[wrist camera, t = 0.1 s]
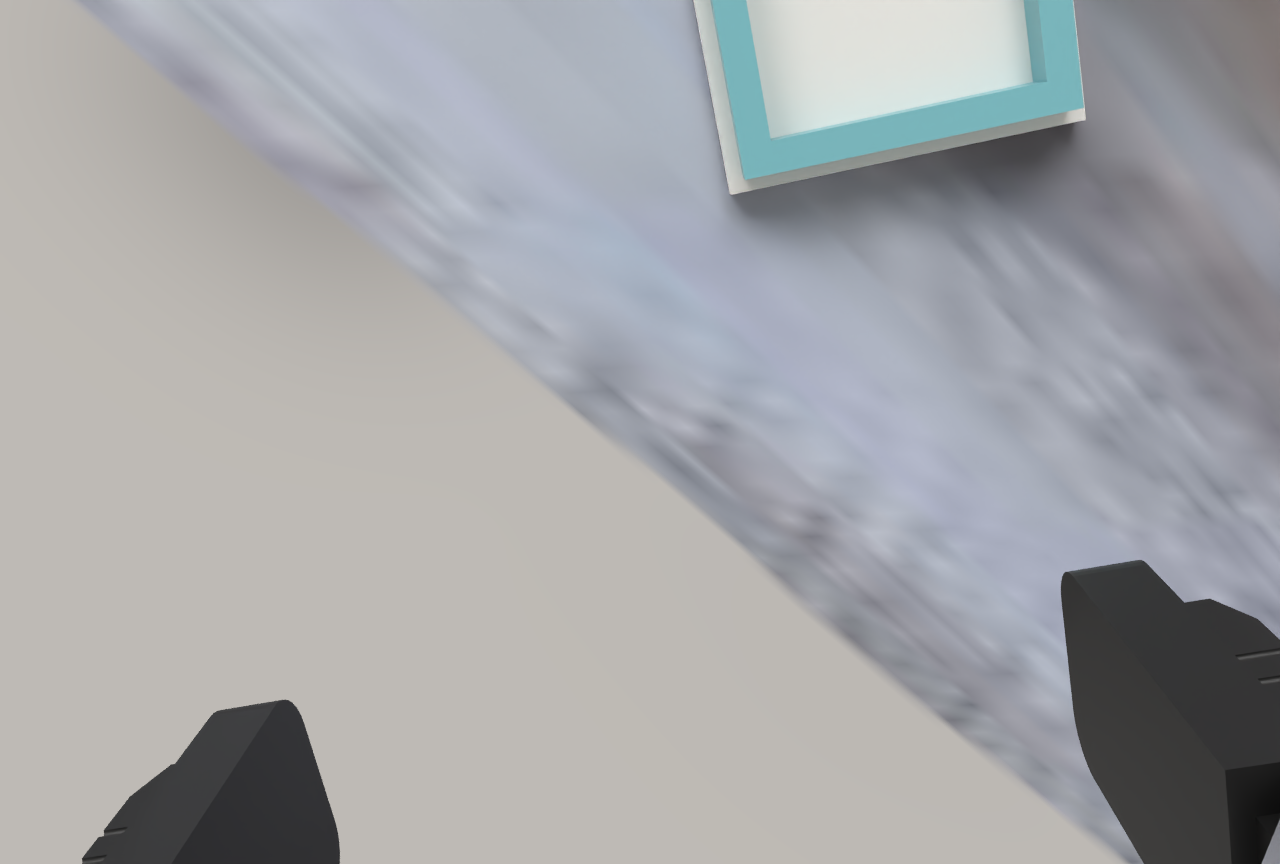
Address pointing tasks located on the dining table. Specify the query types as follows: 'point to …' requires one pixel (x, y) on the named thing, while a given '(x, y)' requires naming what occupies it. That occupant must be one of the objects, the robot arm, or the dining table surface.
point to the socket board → (880, 79)
